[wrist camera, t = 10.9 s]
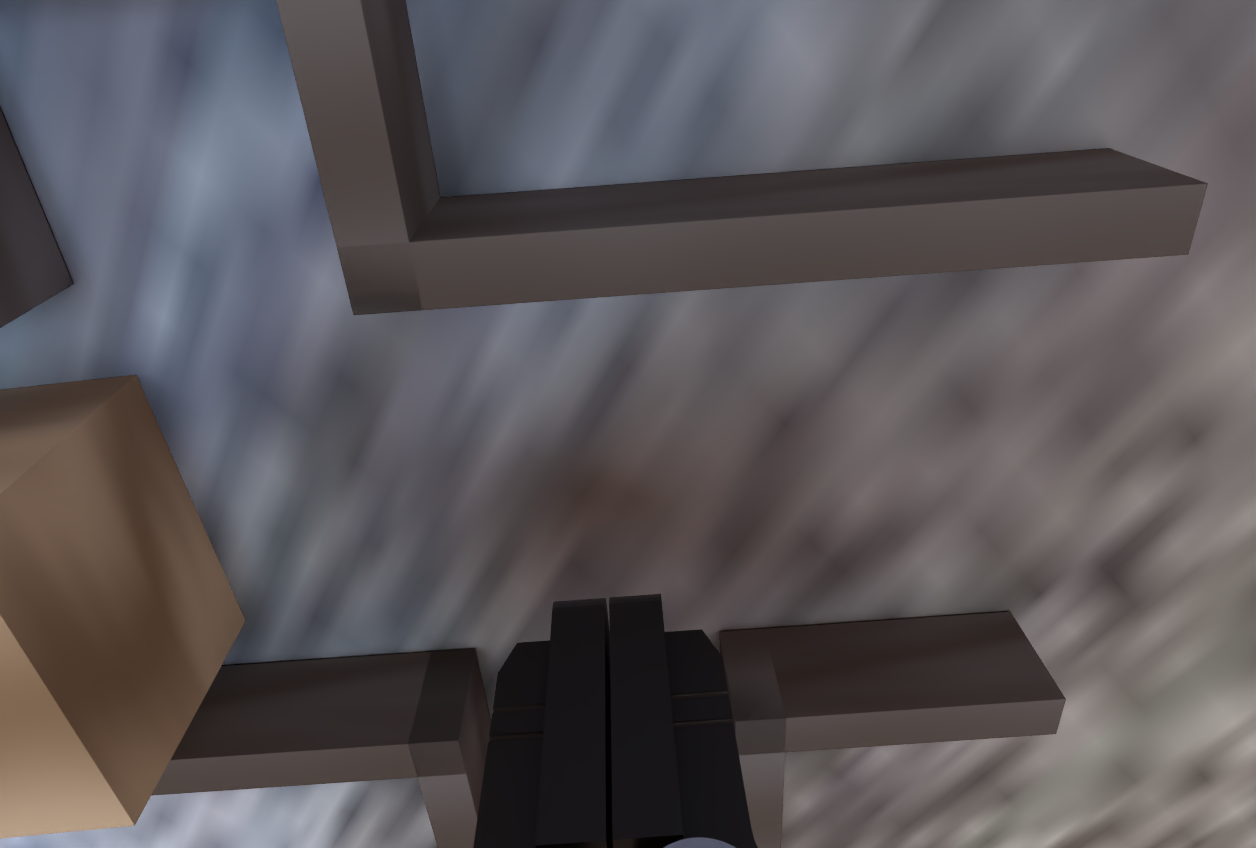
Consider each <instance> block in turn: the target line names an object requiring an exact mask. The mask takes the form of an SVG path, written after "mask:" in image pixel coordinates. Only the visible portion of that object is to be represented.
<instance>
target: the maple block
mask: <svg viewBox="0 0 1256 848" xmlns="http://www.w3.org/2000/svg"><path fill="white" fill-rule="evenodd" d="M245 621H246V620H245V618H244V616H243V614H242V611H241V609H240V607H239V605H238V602H237V600H236V598H235V596H234V593H233V591H232V589H231V587H230V584H229V582H228V580H227V578H226V575H225V573H224V571H223V569H222V567H221V564H220V562H219V560H218V558H217V555H216V553H215V551H214V549H213V546H212V544H211V542H210V540H209V537H208V535H207V533H206V531H205V528H204V526H203V524H202V522H201V519H200V517H199V515H198V513H197V510H196V508H195V506H194V504H193V501H192V499H191V497H190V495H189V492H188V490H187V488H186V486H185V483H184V481H183V479H182V477H181V474H180V472H179V470H178V468H177V465H176V463H175V461H174V459H173V456H172V454H171V452H170V450H169V447H168V445H167V443H166V441H165V438H164V436H163V434H162V432H161V430H160V427H159V425H158V423H157V421H156V418H155V416H154V414H153V412H152V409H151V407H150V405H149V403H148V400H147V398H146V396H145V394H144V391H143V389H142V387H141V385H140V382H139V380H138V378H137V376H136V375H128V376H119V377H110V378H101V379H92V380H83V381H74V382H65V383H56V384H47V385H38V386H29V387H20V388H10V389H1V390H0V838H9V837H19V836H30V835H40V834H51V833H61V832H72V831H82V830H93V829H103V828H113V827H124V826H134V825H135V824H136V822H137V820H138V819H139V817H140V815H141V813H142V811H143V809H144V807H145V806H146V804H147V802H148V800H149V798H150V796H151V795H152V793H153V791H154V789H155V787H156V785H157V784H158V782H159V780H160V778H161V776H162V774H163V772H164V771H165V769H166V767H167V765H168V763H169V761H170V760H171V758H172V756H173V754H174V752H175V750H176V749H177V747H178V745H179V743H180V741H181V739H182V738H183V736H184V734H185V732H186V730H187V728H188V726H189V725H190V723H191V721H192V719H193V717H194V715H195V714H196V712H197V710H198V708H199V706H200V704H201V703H202V701H203V699H204V697H205V695H206V693H207V691H208V690H209V688H210V686H211V684H212V682H213V680H214V679H215V677H216V675H217V673H218V671H219V669H220V668H221V666H222V664H223V662H224V660H225V658H226V656H227V655H228V653H229V651H230V649H231V647H232V645H233V644H234V642H235V640H236V638H237V636H238V634H239V633H240V631H241V629H242V627H243V625H244V623H245Z"/></svg>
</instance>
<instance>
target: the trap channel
mask: <svg viewBox="0 0 1256 848" xmlns="http://www.w3.org/2000/svg"><path fill="white" fill-rule="evenodd" d="M276 1H277V6H278V10H279V14H280V18H281V22H282V26H283V30H284V34H285V38H286V42H287V46H288V50H289V54H290V58H291V63H292V67H293V71H294V75H295V79H296V83H297V87H298V91H299V95H300V99H301V103H302V107H303V111H304V115H305V119H306V124H307V128H308V132H309V136H310V140H311V144H312V148H313V152H314V156H315V160H316V164H317V168H318V172H319V176H320V181H321V185H322V189H323V193H324V197H325V201H326V205H327V209H328V213H329V217H330V221H331V225H332V229H333V233H334V238H335V242H336V246H337V250H338V254H339V258H340V262H341V266H342V270H343V274H344V278H345V282H346V286H347V290H348V294H349V299H350V303H351V307H352V311H353V315H363V314H376V313H390V312H404V311H418V310H431V309H445V308H459V307H473V306H486V305H500V304H514V303H528V302H541V301H555V300H569V299H583V298H596V297H610V296H624V295H638V294H652V293H665V292H679V291H693V290H707V289H720V288H734V287H748V286H762V285H775V284H789V283H803V282H817V281H830V280H844V279H858V278H872V277H885V276H899V275H913V274H927V273H940V272H954V271H968V270H982V269H995V268H1009V267H1023V266H1037V265H1050V264H1064V263H1078V262H1092V261H1106V260H1119V259H1133V258H1147V257H1161V256H1174V255H1188V254H1189V250H1190V246H1191V243H1192V239H1193V235H1194V232H1195V228H1196V225H1197V221H1198V217H1199V214H1200V210H1201V206H1202V203H1203V199H1204V196H1205V192H1206V188H1207V185H1208V183H1205V182H1202V181H1199V180H1196V179H1194V178H1191V177H1188V176H1185V175H1182V174H1180V173H1177V172H1174V171H1171V170H1168V169H1166V168H1163V167H1160V166H1157V165H1154V164H1152V163H1149V162H1146V161H1143V160H1140V159H1138V158H1135V157H1132V156H1129V155H1126V154H1124V153H1121V152H1118V151H1115V150H1112V149H1110V148H1107V149H1093V150H1080V151H1066V152H1053V153H1039V154H1026V155H1012V156H999V157H985V158H972V159H958V160H944V161H931V162H917V163H904V164H890V165H877V166H863V167H850V168H836V169H822V170H809V171H795V172H782V173H768V174H755V175H741V176H728V177H714V178H701V179H687V180H673V181H660V182H646V183H633V184H619V185H606V186H592V187H579V188H565V189H552V190H538V191H524V192H511V193H497V194H484V195H470V196H457V197H443V198H440V194H439V188H438V182H437V177H436V171H435V166H434V160H433V154H432V149H431V143H430V137H429V132H428V126H427V120H426V115H425V109H424V103H423V98H422V92H421V87H420V81H419V75H418V70H417V64H416V58H415V53H414V47H413V41H412V36H411V30H410V24H409V19H408V13H407V8H406V2H405V0H276ZM71 285H73V283H72V280H71V278H70V275H69V273H68V271H67V268H66V266H65V263H64V261H63V259H62V256H61V254H60V251H59V249H58V247H57V244H56V242H55V239H54V237H53V235H52V232H51V230H50V227H49V225H48V223H47V220H46V218H45V215H44V213H43V211H42V208H41V206H40V203H39V201H38V199H37V196H36V194H35V191H34V189H33V187H32V184H31V182H30V179H29V177H28V175H27V172H26V170H25V167H24V165H23V163H22V160H21V158H20V155H19V153H18V151H17V148H16V146H15V143H14V141H13V139H12V136H11V134H10V131H9V129H8V127H7V124H6V122H5V119H4V117H3V115H2V112H1V110H0V328H1V327H3V326H4V325H6V324H8V323H9V322H11V321H13V320H14V319H16V318H18V317H19V316H21V315H23V314H24V313H26V312H28V311H29V310H31V309H33V308H34V307H36V306H38V305H39V304H41V303H43V302H44V301H46V300H48V299H49V298H51V297H53V296H54V295H56V294H58V293H59V292H61V291H63V290H64V289H66V288H68V287H69V286H71ZM720 655H721V656H722V660H723V666H724V672H725V677H726V683H727V689H728V697H729V701H730V707H731V712H732V720H733V725H734V730H735V736H736V741H737V747H738V753H739V759H740V765H741V770H742V776H743V782H744V788H745V794H746V800H747V805H748V811H749V817H750V823H751V829H752V832H753V836H754V840H755V842H756V845H757V847H758V848H781V836H782V811H783V786H784V762H785V752H797V751H812V750H827V749H841V748H856V747H871V746H886V745H900V744H915V743H930V742H944V741H959V740H974V739H989V738H1003V737H1018V736H1033V735H1047V734H1056V732H1057V729H1058V725H1059V721H1060V718H1061V714H1062V711H1063V707H1064V703H1065V700H1066V699H1065V697H1064V696H1063V694H1062V692H1061V691H1060V689H1059V688H1058V686H1057V685H1056V683H1055V681H1054V680H1053V678H1052V677H1051V675H1050V674H1049V672H1048V670H1047V669H1046V667H1045V666H1044V664H1043V662H1042V661H1041V659H1040V658H1039V656H1038V655H1037V653H1036V651H1035V650H1034V648H1033V647H1032V645H1031V644H1030V642H1029V640H1028V639H1027V637H1026V636H1025V634H1024V632H1023V631H1022V629H1021V628H1020V626H1019V625H1018V623H1017V621H1016V620H1015V618H1014V617H1013V615H1012V613H1011V612H998V613H984V614H969V615H955V616H941V617H926V618H912V619H897V620H883V621H868V622H854V623H839V624H825V625H810V626H796V627H782V628H767V629H753V630H738V631H724V632H720ZM490 726H491V720H490V716H489V711H488V706H487V702H486V697H485V692H484V687H483V683H482V678H481V673H480V669H479V664H478V659H477V655H476V650H475V649H464V650H449V651H435V652H420V653H406V654H391V655H377V656H362V657H348V658H334V659H319V660H305V661H290V662H276V663H261V664H247V665H232V666H221V668H220V669H219V671H218V673H217V675H216V677H215V679H214V680H213V682H212V684H211V686H210V688H209V690H208V691H207V693H206V695H205V697H204V699H203V701H202V703H201V704H200V706H199V708H198V710H197V712H196V714H195V715H194V717H193V719H192V721H191V723H190V725H189V726H188V728H187V730H186V732H185V734H184V736H183V738H182V739H181V741H180V743H179V745H178V747H177V749H176V750H175V752H174V754H173V756H172V758H171V760H170V761H169V763H168V765H167V767H166V769H165V771H164V772H163V774H162V776H161V778H160V780H159V782H158V784H157V785H156V787H155V789H154V791H153V793H152V795H164V794H179V793H194V792H208V791H223V790H238V789H252V788H267V787H282V786H297V785H311V784H326V783H341V782H355V781H370V780H385V779H400V778H414V777H418V781H419V784H420V788H421V791H422V795H423V798H424V801H425V805H426V808H427V812H428V815H429V819H430V822H431V826H432V829H433V832H434V836H435V839H436V843H437V846H438V848H473V846H474V839H475V832H476V825H477V818H478V810H479V803H480V796H481V789H482V782H483V775H484V768H485V761H486V754H487V747H488V742H489V740H490V737H489V733H490Z"/></svg>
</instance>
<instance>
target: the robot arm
mask: <svg viewBox="0 0 1256 848" xmlns="http://www.w3.org/2000/svg"><path fill="white" fill-rule="evenodd" d="M609 613H610V630H609V621H608V611H607V603H606V598H601V599H587V600H573V601H559V602H554V604H553V610H552V623H551V636H550V641H537V642H523V643H517V644H516V646H515V647H514V649H513V651H512V652H511V654H510V655H509V657H508V658H507V660H506V661H505V663H504V665H503V666H502V668H501V669H500V671H499V672H498V677H497V684H496V691H495V698H494V705H493V709H494V712H493V714H492V719H491V726H490V733H489V737H490V740H489V742H488V747H487V754H486V761H485V768H484V775H483V782H482V789H481V796H480V803H479V810H478V818H477V825H476V832H475V839H474V846H473V848H758V847H757V845H756V842H755V840H754V836H753V832H752V829H751V823H750V817H749V811H748V805H747V800H746V794H745V788H744V782H743V776H742V770H741V765H740V759H739V753H738V747H737V741H736V736H735V730H734V725H733V720H732V712H731V707H730V701H729V697H728V689H727V683H726V677H725V672H724V666H723V660H722V656H721V655H720V654H719V652H718V651H717V650H716V648H715V647H714V645H713V644H712V643H711V641H710V640H709V639H708V637H707V636H706V635H705V633H704V632H703V630H688V631H674V632H664V622H663V612H662V601H661V594H653V595H639V596H625V597H611V598H610V600H609Z"/></svg>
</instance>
